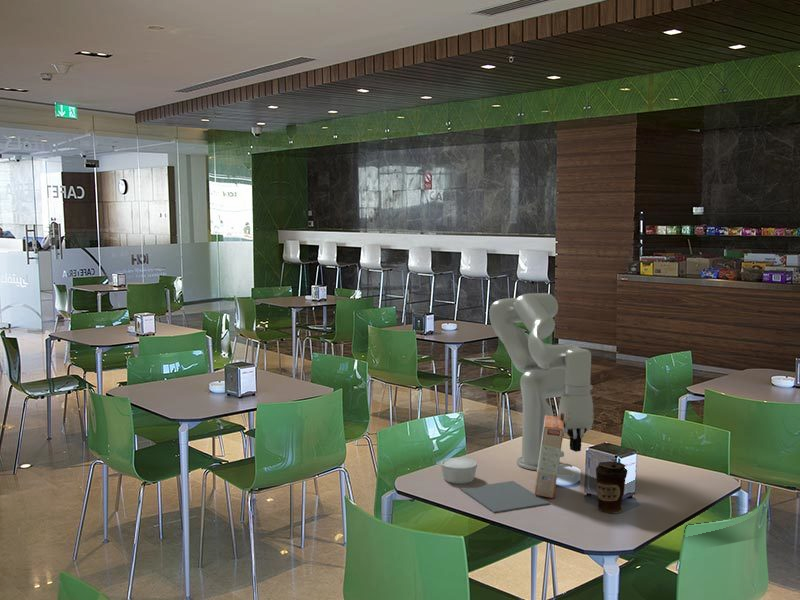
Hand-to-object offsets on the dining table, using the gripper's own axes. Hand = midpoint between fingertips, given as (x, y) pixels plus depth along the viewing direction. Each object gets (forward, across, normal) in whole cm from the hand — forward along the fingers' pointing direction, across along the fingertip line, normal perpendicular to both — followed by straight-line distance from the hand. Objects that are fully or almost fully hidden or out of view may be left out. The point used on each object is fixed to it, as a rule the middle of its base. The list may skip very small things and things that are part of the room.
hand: (575, 450), depth 235 cm
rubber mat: (+11, +24, 0) cm, 27 cm away
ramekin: (+11, +29, -19) cm, 37 cm away
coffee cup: (+11, +3, +20) cm, 23 cm away
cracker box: (+11, +10, 0) cm, 15 cm away
